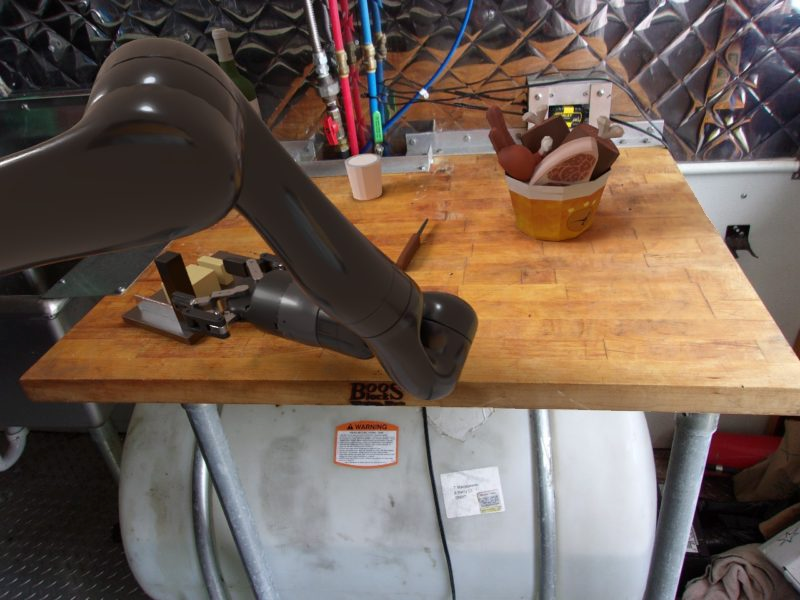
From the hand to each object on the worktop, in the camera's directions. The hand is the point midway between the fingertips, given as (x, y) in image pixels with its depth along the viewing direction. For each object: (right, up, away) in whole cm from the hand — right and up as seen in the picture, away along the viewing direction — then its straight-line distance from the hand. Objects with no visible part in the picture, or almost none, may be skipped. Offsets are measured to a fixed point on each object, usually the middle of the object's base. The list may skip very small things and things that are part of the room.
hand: (201, 281), depth 73 cm
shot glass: (+19, +18, +41) cm, 48 cm away
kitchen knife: (+27, +6, +21) cm, 35 cm away
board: (-4, -2, +16) cm, 16 cm away
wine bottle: (-6, +23, +53) cm, 58 cm away
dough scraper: (-8, -5, +10) cm, 13 cm away
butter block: (-5, -2, +14) cm, 15 cm away
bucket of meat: (+49, +10, +22) cm, 55 cm away
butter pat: (-3, +1, +17) cm, 17 cm away
